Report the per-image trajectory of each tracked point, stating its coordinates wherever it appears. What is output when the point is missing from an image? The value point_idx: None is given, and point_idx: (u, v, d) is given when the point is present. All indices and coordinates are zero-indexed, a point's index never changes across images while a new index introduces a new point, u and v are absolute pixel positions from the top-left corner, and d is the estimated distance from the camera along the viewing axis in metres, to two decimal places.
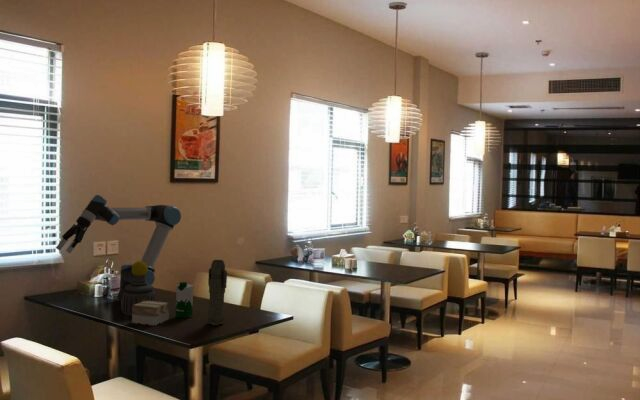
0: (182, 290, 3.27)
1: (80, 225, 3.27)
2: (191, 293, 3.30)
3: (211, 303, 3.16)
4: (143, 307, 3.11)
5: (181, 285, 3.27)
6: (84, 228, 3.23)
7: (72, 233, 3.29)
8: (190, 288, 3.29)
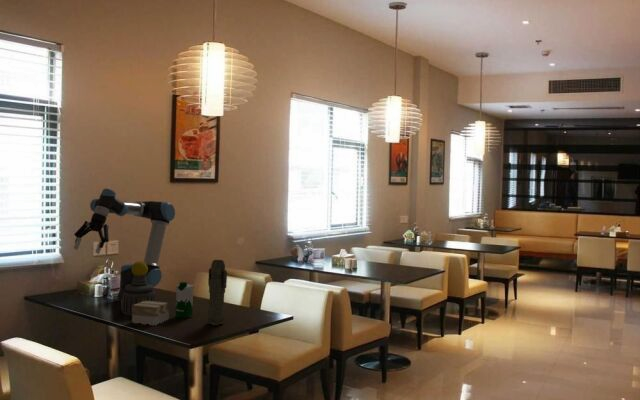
0: (182, 290, 3.27)
1: (98, 223, 3.19)
2: (191, 293, 3.30)
3: (211, 303, 3.16)
4: (143, 307, 3.11)
5: (181, 285, 3.27)
6: (107, 226, 3.19)
7: (88, 231, 3.20)
8: (190, 288, 3.29)
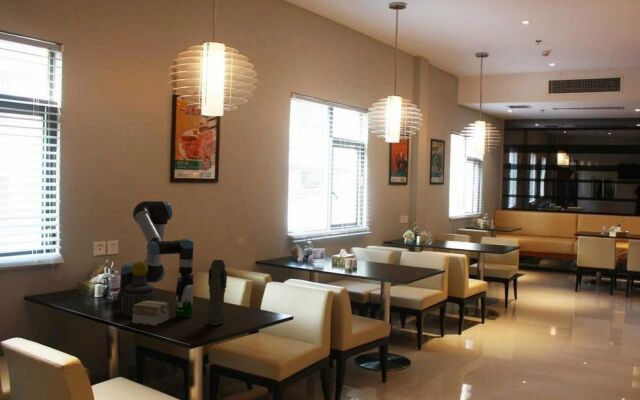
0: None
1: (189, 273, 3.33)
2: (191, 293, 3.30)
3: (211, 303, 3.16)
4: (143, 307, 3.12)
5: None
6: None
7: None
8: (190, 288, 3.29)
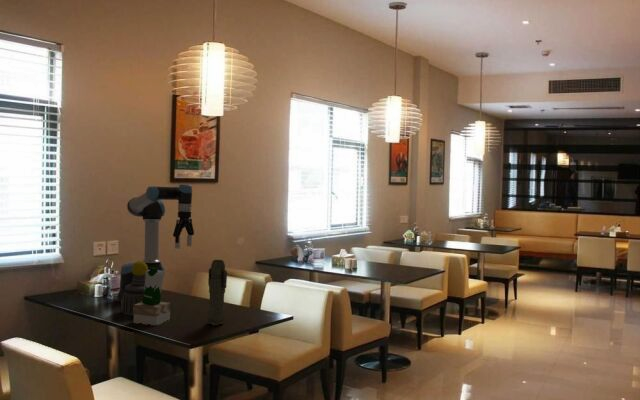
0: (152, 276, 3.13)
1: (187, 219, 3.40)
2: (161, 279, 3.16)
3: (211, 303, 3.16)
4: (144, 307, 3.12)
5: (151, 270, 3.13)
6: None
7: None
8: (161, 274, 3.15)
